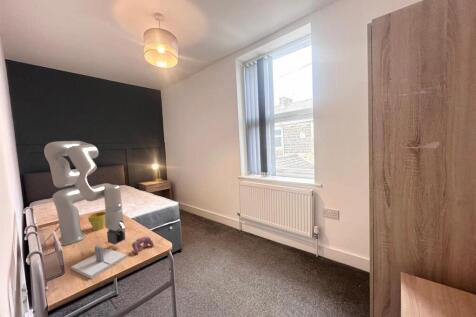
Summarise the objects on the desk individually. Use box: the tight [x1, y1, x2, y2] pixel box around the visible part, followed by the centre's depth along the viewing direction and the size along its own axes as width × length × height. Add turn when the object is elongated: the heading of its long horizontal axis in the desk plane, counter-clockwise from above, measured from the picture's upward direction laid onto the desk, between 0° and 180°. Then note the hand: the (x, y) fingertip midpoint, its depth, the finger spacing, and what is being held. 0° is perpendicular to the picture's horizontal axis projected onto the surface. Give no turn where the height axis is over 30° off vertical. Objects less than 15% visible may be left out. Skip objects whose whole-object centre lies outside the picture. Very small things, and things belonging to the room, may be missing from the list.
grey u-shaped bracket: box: [106, 227, 126, 246], centre depth 109 cm, size 6×6×6 cm
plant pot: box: [87, 211, 106, 231], centre depth 135 cm, size 10×10×10 cm
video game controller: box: [131, 236, 154, 255], centre depth 106 cm, size 10×5×7 cm, turn 141°
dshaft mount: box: [71, 244, 127, 279], centre depth 95 cm, size 16×16×8 cm
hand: (116, 239), depth 109 cm, fingers closed on grey u-shaped bracket, 6 cm apart
